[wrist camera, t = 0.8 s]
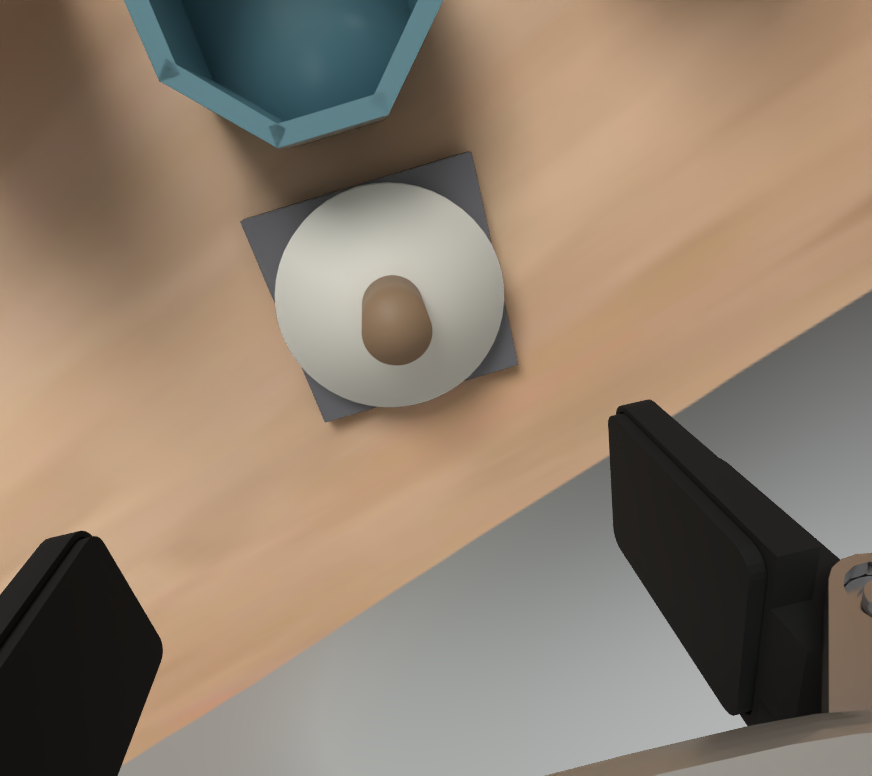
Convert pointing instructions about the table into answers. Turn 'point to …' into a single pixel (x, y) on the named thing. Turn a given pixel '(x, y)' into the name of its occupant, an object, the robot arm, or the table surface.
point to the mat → (440, 176)
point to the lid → (389, 295)
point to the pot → (286, 59)
